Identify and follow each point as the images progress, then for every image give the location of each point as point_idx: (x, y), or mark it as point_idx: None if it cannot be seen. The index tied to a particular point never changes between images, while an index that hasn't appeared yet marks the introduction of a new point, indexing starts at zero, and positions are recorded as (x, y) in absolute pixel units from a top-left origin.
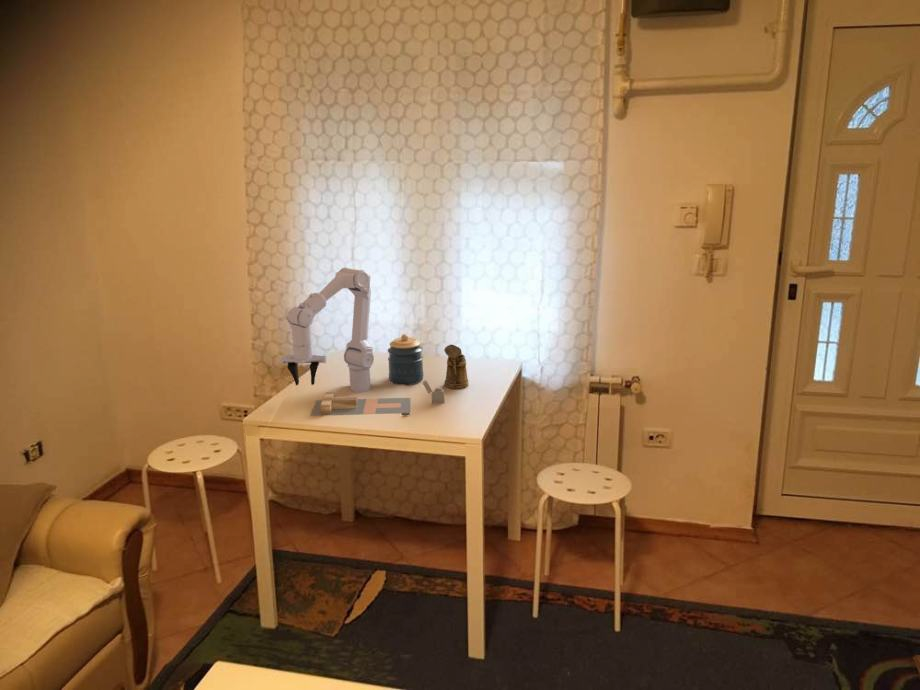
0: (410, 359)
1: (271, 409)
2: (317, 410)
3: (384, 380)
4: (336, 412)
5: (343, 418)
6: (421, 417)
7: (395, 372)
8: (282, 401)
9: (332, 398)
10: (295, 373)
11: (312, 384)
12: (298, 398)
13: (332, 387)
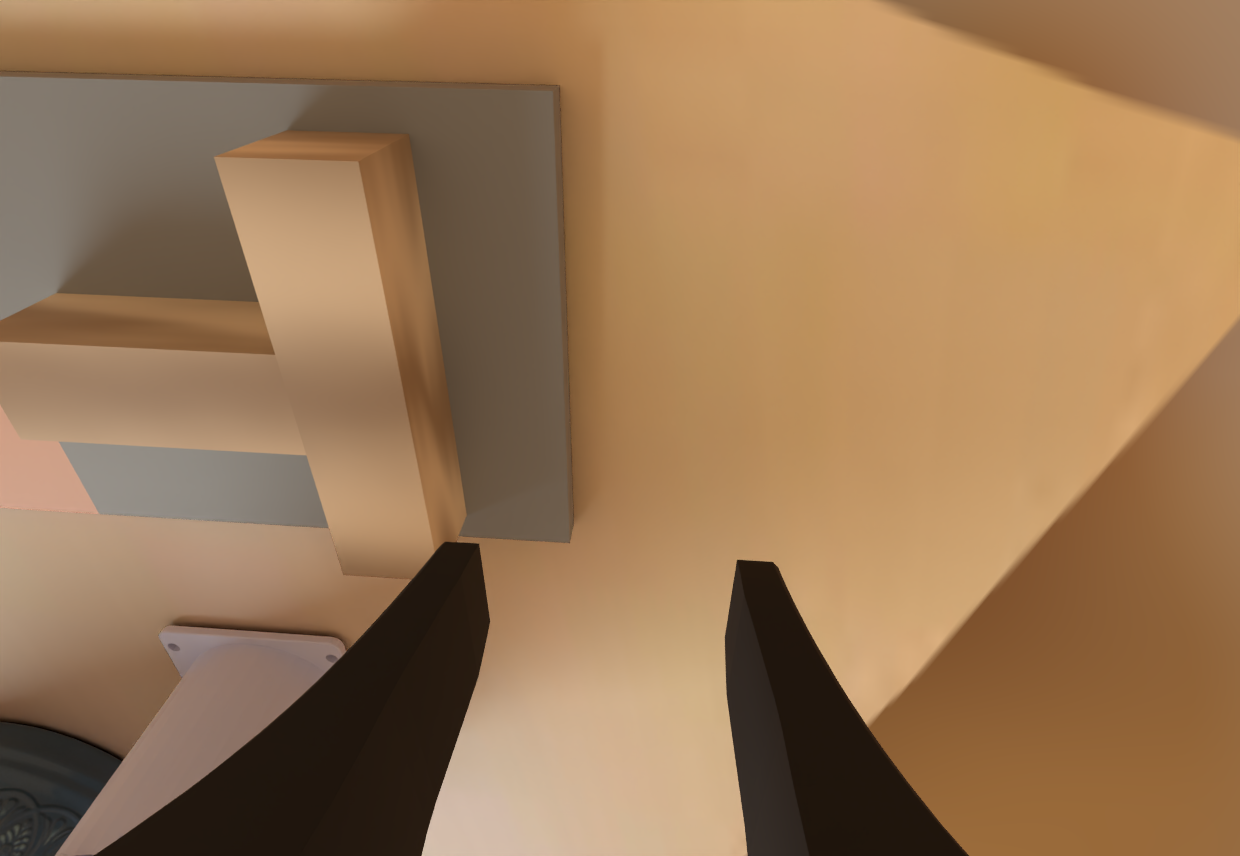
0: None
1: (1030, 437)
2: (492, 275)
3: None
4: None
5: (118, 45)
6: None
7: (4, 830)
8: (898, 596)
9: (294, 416)
10: (803, 798)
11: (455, 544)
12: None
13: (514, 757)
